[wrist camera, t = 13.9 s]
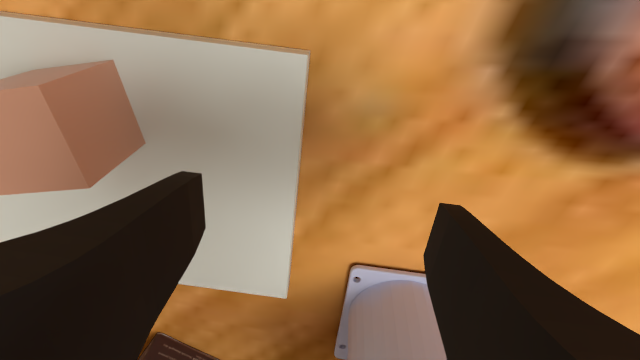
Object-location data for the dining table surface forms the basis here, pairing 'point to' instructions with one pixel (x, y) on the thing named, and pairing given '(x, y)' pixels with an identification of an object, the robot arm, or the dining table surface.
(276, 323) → the dining table surface
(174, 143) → the board
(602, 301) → the dining table surface
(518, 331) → the robot arm
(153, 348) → the box
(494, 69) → the dining table surface
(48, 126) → the peach colored cube
